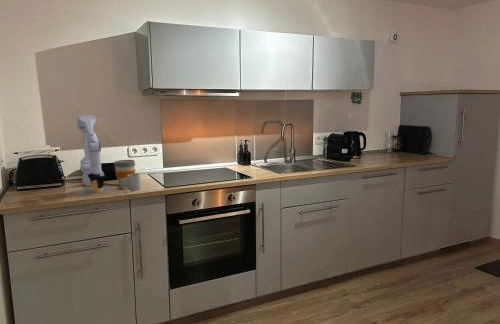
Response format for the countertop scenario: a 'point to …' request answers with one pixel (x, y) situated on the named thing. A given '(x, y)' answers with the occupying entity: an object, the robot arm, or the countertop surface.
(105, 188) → the board
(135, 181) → the cup
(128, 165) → the reusable coffee cup
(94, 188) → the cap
